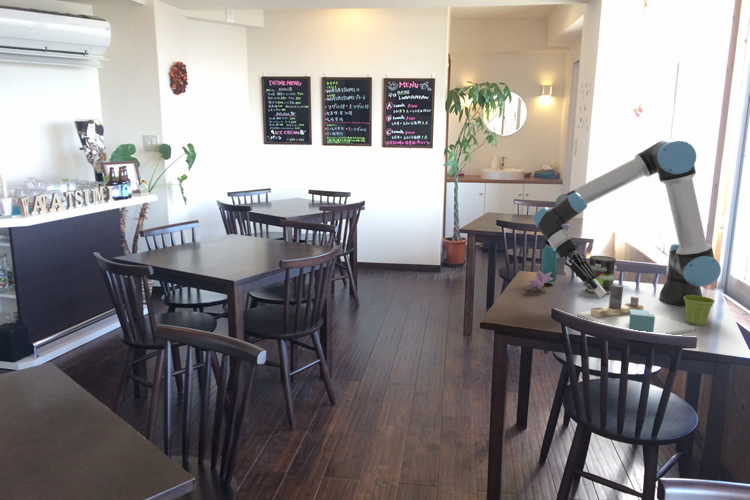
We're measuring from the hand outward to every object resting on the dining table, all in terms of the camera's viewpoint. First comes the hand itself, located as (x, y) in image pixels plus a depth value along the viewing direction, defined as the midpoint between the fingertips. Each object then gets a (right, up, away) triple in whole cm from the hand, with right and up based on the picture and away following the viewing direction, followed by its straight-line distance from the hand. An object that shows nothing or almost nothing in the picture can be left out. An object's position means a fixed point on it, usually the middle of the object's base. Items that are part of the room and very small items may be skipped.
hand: (603, 295), depth 200 cm
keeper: (+6, -9, -16) cm, 19 cm away
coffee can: (+13, -1, +34) cm, 36 cm away
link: (+5, -6, -1) cm, 8 cm away
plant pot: (+30, -9, -7) cm, 32 cm away
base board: (+7, -9, -8) cm, 14 cm away
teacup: (+19, +2, +48) cm, 51 cm away
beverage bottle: (-7, +1, +43) cm, 44 cm away
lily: (-14, -1, +30) cm, 33 cm away
